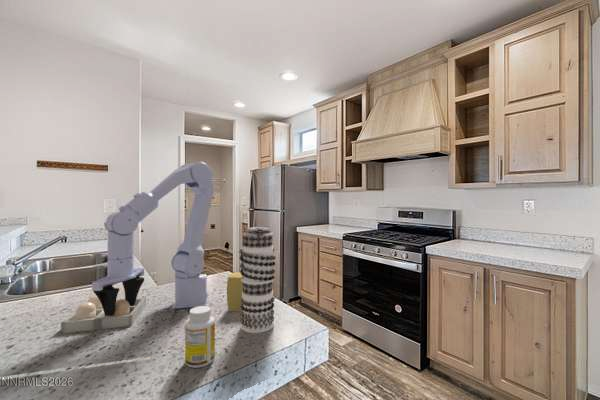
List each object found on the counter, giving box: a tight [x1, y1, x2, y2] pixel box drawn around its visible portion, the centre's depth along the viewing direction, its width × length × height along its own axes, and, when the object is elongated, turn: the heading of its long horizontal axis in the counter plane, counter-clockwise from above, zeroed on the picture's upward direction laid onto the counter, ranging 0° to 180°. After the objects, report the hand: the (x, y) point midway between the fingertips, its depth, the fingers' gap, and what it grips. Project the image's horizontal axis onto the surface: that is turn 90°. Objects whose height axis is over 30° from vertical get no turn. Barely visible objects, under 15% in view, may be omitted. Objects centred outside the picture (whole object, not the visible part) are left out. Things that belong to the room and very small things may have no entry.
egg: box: [113, 298, 130, 316], centre depth 72 cm, size 4×4×6 cm
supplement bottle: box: [184, 305, 216, 369], centre depth 55 cm, size 6×6×10 cm
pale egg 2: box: [87, 294, 103, 309], centre depth 76 cm, size 4×4×6 cm
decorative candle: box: [239, 226, 276, 334], centre depth 71 cm, size 9×9×25 cm
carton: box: [60, 297, 147, 334], centre depth 74 cm, size 15×14×3 cm
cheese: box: [226, 271, 243, 312], centre depth 85 cm, size 10×11×10 cm
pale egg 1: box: [75, 301, 96, 320], centre depth 70 cm, size 4×4×6 cm
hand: (120, 310), depth 72 cm, fingers open, 6 cm apart
